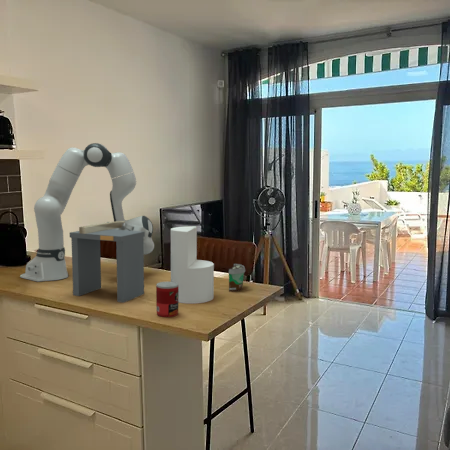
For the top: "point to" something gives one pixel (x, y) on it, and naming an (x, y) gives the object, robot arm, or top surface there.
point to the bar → (100, 227)
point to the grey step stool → (91, 262)
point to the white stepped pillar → (190, 267)
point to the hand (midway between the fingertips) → (115, 223)
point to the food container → (236, 278)
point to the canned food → (167, 299)
